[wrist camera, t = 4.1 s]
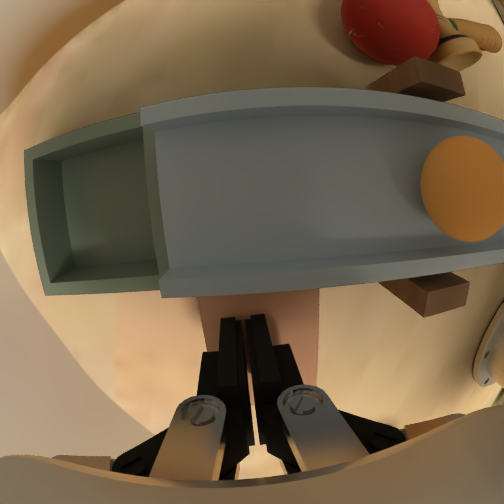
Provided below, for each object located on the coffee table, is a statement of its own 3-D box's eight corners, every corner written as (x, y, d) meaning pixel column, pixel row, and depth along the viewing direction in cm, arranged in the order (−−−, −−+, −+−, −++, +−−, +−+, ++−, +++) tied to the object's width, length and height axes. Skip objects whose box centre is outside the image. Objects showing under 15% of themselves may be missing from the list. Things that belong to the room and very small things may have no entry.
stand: (470, 127, 14) (546, 120, 6) (473, 244, 16) (546, 272, 9) (173, 114, 13) (120, 57, 6) (190, 276, 16) (155, 353, 8)
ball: (399, 129, 7) (434, 143, 9) (404, 242, 8) (436, 227, 9) (506, 127, 4) (509, 145, 6) (506, 261, 5) (510, 239, 7)
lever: (529, 139, 8) (570, 139, 5) (512, 331, 11) (542, 355, 8) (164, 115, 9) (122, 88, 6) (205, 391, 12) (192, 446, 9)
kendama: (448, 7, 12) (302, -13, 10) (494, -2, 6) (355, -61, 5) (474, 74, 15) (349, 88, 14) (523, 75, 10) (427, 72, 8)
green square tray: (174, 124, 13) (157, 108, 10) (189, 266, 15) (176, 288, 12) (58, 153, 13) (24, 150, 10) (74, 276, 15) (45, 295, 12)
